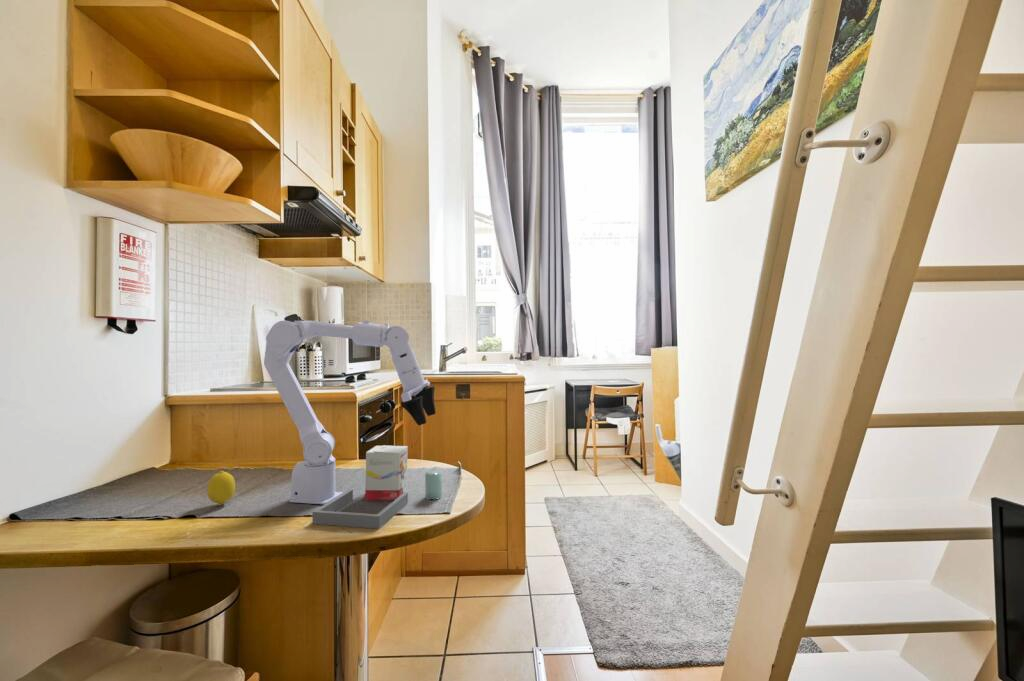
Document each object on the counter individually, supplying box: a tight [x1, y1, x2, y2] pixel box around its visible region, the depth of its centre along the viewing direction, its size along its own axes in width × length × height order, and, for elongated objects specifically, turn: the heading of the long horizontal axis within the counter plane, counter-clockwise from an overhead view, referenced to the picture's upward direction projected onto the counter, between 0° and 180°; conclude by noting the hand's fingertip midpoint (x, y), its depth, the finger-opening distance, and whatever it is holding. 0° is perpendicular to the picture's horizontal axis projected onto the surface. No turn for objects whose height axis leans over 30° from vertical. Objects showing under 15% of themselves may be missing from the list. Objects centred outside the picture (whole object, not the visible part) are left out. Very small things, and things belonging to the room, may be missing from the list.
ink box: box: [364, 444, 409, 502], centre depth 116 cm, size 9×9×12 cm
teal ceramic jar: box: [424, 470, 443, 500], centre depth 114 cm, size 4×4×6 cm
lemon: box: [206, 470, 236, 505], centre depth 108 cm, size 6×6×8 cm
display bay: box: [311, 489, 409, 530], centre depth 103 cm, size 15×15×2 cm
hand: (427, 419), depth 120 cm, fingers open, 7 cm apart
